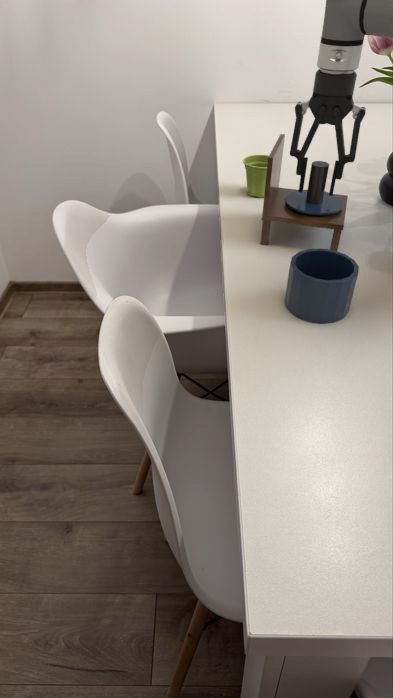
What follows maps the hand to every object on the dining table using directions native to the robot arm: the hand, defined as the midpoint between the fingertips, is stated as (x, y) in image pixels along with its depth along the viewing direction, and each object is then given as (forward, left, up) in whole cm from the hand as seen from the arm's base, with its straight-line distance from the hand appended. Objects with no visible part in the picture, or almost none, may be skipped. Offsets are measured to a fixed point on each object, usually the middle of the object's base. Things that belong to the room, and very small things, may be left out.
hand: (316, 191), depth 104 cm
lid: (0, 0, -3) cm, 3 cm away
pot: (-5, +28, -10) cm, 30 cm away
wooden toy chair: (+1, 0, -10) cm, 10 cm away
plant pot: (+15, -20, -10) cm, 27 cm away
